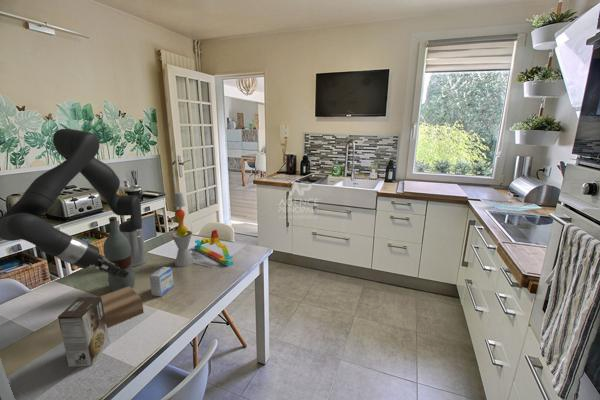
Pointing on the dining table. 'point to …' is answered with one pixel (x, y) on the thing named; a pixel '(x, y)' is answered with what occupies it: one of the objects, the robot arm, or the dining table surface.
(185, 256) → the lava lamp
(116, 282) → the bottle
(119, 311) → the walnut block
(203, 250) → the rainbow clothes hanger
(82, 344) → the coffee box
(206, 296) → the dining table surface
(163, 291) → the medicine box
